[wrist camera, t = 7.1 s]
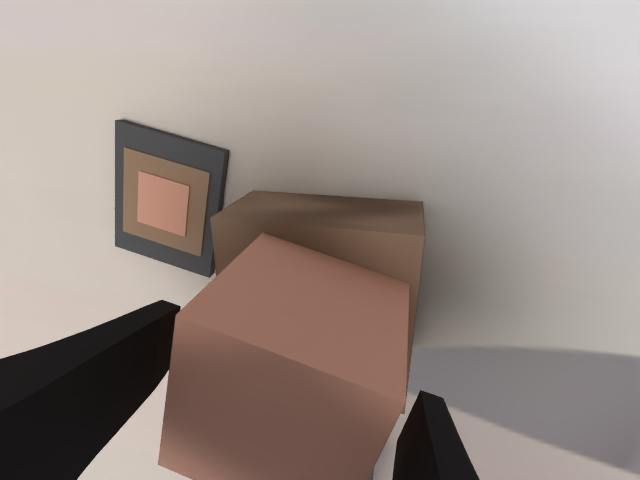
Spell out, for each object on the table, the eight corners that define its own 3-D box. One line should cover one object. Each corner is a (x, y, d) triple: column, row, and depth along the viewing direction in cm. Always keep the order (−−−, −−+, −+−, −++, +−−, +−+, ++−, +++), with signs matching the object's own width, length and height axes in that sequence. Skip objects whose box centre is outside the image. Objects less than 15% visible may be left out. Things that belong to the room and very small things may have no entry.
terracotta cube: (409, 283, 12) (405, 403, 7) (362, 395, 14) (336, 541, 10) (262, 232, 12) (176, 315, 8) (238, 347, 15) (157, 464, 10)
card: (229, 150, 16) (222, 152, 15) (213, 273, 18) (207, 279, 18) (121, 119, 16) (111, 120, 16) (120, 242, 19) (111, 247, 18)
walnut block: (422, 200, 15) (425, 235, 11) (406, 346, 18) (404, 414, 14) (255, 188, 16) (210, 217, 13) (263, 325, 19) (227, 382, 15)
